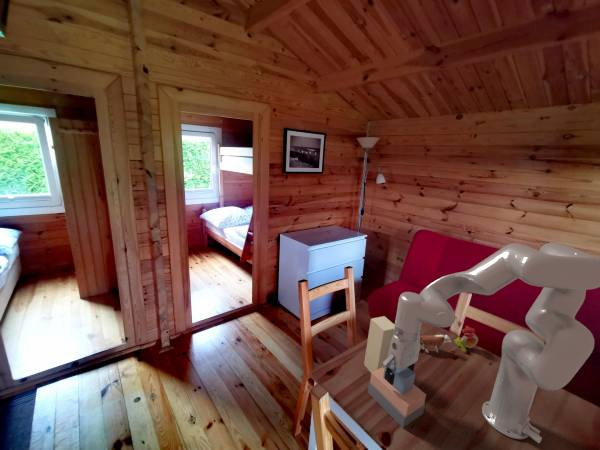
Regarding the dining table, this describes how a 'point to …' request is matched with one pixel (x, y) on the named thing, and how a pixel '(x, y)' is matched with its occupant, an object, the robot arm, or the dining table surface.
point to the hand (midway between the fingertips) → (398, 376)
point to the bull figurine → (433, 341)
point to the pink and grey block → (396, 399)
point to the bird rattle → (467, 339)
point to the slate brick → (402, 379)
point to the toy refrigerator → (378, 342)
